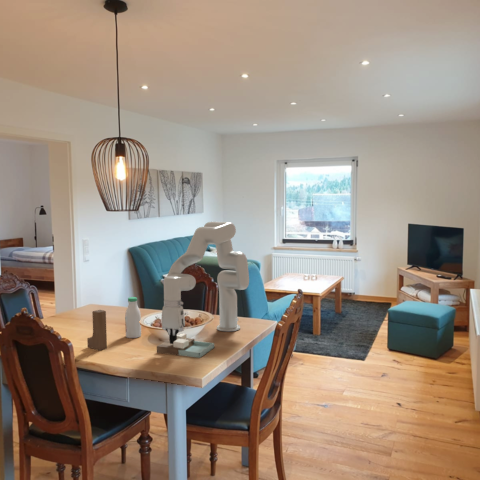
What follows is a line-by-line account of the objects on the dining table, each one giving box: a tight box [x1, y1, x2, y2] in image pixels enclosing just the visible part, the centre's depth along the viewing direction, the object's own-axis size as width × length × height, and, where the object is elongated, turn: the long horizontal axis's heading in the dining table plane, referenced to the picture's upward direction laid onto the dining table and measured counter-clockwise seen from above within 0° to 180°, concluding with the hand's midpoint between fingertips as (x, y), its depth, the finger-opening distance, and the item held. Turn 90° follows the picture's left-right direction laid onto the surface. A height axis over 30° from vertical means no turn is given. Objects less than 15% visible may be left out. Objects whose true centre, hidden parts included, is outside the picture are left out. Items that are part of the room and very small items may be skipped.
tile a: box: [177, 333, 188, 340], centre depth 217 cm, size 5×5×2 cm
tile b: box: [173, 339, 189, 348], centre depth 207 cm, size 5×5×2 cm
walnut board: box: [156, 337, 196, 356], centre depth 213 cm, size 16×11×3 cm
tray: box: [178, 340, 215, 359], centre depth 209 cm, size 15×11×2 cm
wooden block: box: [86, 309, 108, 351], centre depth 214 cm, size 9×4×18 cm, turn 54°
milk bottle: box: [124, 296, 142, 339], centre depth 233 cm, size 8×8×20 cm
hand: (173, 343), depth 209 cm, fingers closed
